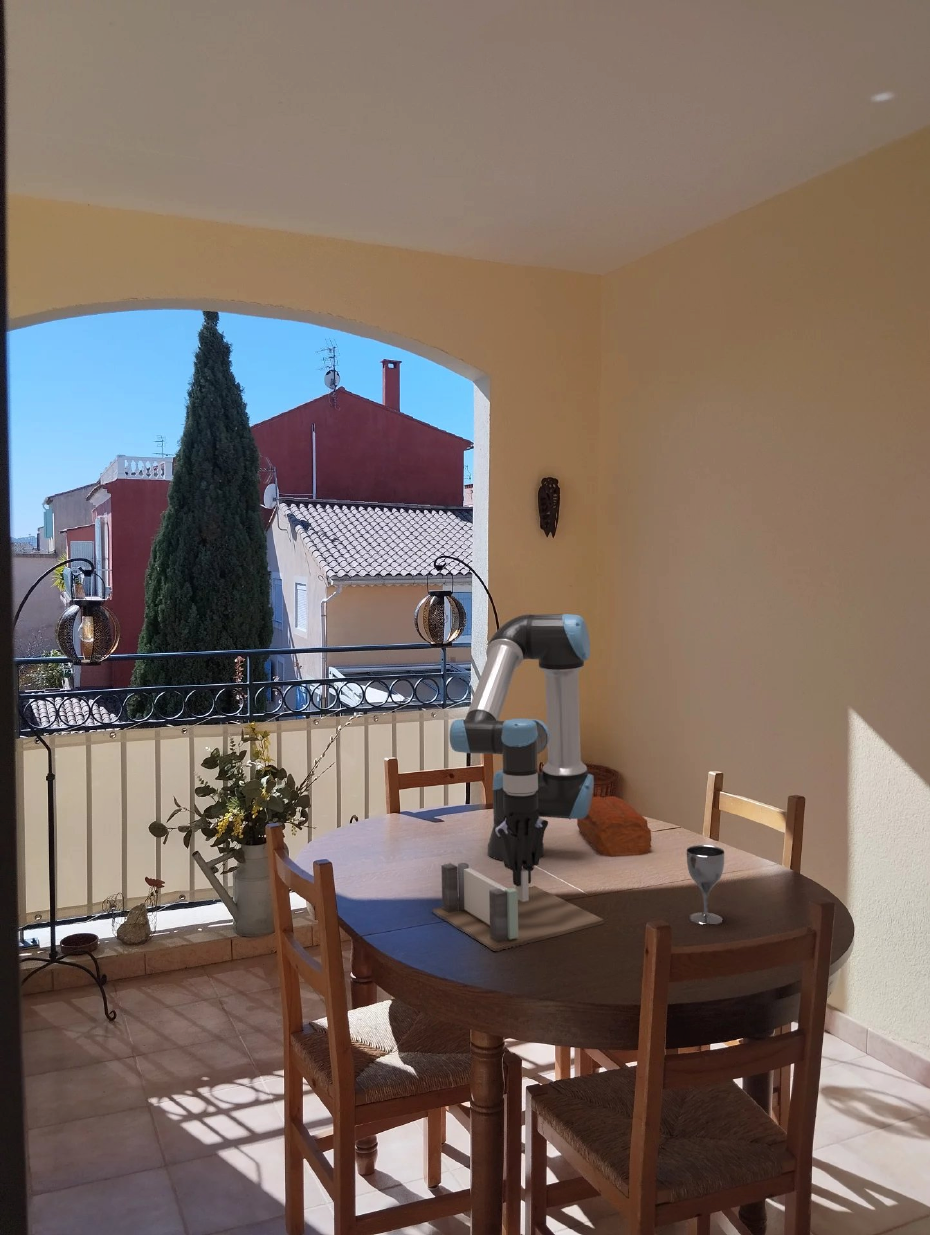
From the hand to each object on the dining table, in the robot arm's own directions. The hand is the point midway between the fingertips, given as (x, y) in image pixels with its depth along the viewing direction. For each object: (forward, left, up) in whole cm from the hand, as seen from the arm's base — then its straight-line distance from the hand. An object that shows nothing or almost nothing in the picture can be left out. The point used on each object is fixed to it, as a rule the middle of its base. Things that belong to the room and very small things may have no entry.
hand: (522, 899), depth 206 cm
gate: (-2, -8, -4) cm, 9 cm away
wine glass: (+20, +34, -5) cm, 40 cm away
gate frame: (-3, 0, -5) cm, 6 cm away
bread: (-36, +55, -6) cm, 66 cm away
